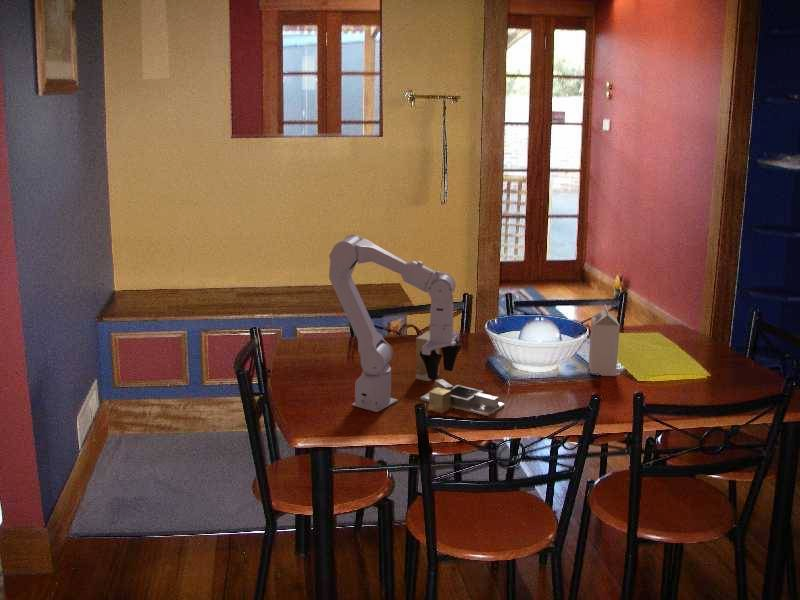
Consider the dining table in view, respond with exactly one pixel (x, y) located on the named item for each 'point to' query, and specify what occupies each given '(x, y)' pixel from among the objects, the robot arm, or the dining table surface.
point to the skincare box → (420, 365)
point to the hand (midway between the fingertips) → (440, 374)
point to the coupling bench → (468, 398)
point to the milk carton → (604, 343)
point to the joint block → (439, 400)
